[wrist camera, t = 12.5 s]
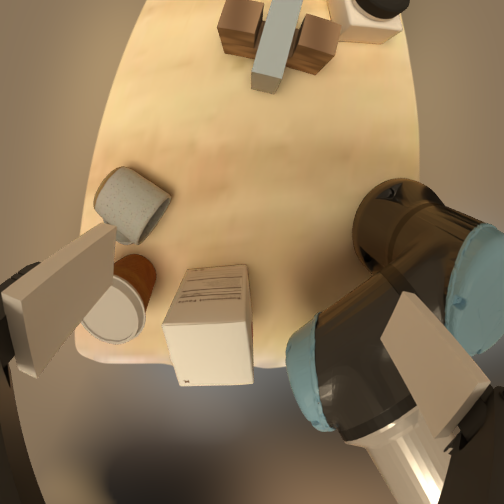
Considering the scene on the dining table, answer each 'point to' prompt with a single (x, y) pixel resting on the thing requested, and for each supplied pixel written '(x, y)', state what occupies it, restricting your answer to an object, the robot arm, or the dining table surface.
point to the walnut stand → (303, 43)
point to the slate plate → (275, 45)
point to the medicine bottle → (367, 19)
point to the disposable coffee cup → (123, 302)
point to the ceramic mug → (130, 204)
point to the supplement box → (211, 327)
